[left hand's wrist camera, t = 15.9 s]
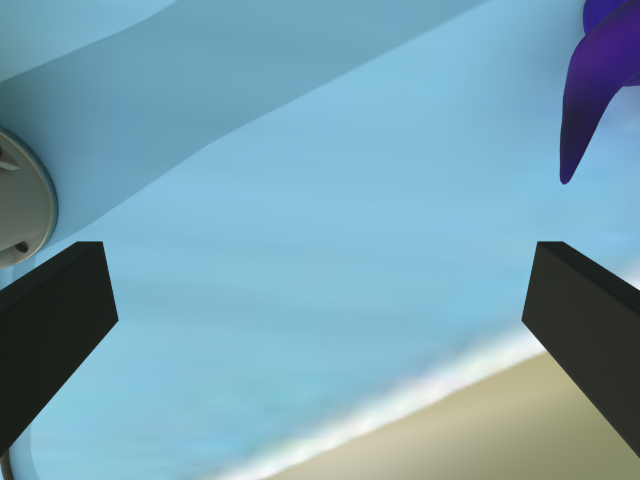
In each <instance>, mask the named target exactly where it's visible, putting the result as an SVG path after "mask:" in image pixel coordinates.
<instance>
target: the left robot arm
mask: <svg viewBox="0 0 640 480" xmlns="http://www.w3.org/2000/svg"><path fill="white" fill-rule="evenodd" d="M57 211H58V208H57V199H56V194H55V190H54V187H53V184H52V182H51V179H50V177H49V175H48V173H47V171H46V170H45V168H44V166H43V165H42V163H41V162H40V160H39V159H38V158H37V157H36V155H35V154H34V153H33V152H32V151H31V150H30V149H29V148H28V147H27V146H26V145H25V144H24V143H23V142H22V141H21V140H20V139H18V138H17V137H16V136H14V135H13V134H12V133H10V132H8V131H7V130H5V129H4V128H2V127H0V269H3V268H7V267H9V266H12V265H15V264H18V263H20V262H22V261H24V260H26V259H28V258H29V257H31V256H33V255H34V254H36V253H37V252H38V251H40V250H41V249H42V248H43V247H44V246H45V245H46V244H47V242H48V241H49V239H50V238H51V236H52V234H53V232H54V229H55V226H56V222H57ZM118 321H119V320H118V315H117V310H116V305H115V300H114V295H113V291H112V286H111V281H110V276H109V271H108V266H107V261H106V256H105V252H104V247H103V242H102V241H77V242H75V243H74V244H72V245H71V246H69V247H68V248H66V249H65V250H63V251H61V252H60V253H58V254H57V255H55V256H54V257H52V258H50V259H49V260H47V261H46V262H44V263H43V264H41V265H40V266H38V267H36V268H35V269H33V270H32V271H30V272H29V273H27V274H25V275H24V276H22V277H21V278H19V279H18V280H16V281H15V282H13V283H11V284H10V285H8V286H7V287H5V288H4V289H2V290H0V465H1V470H2V475H3V479H4V480H14V479H13V475H12V471H11V467H10V461H9V447H10V446H11V445H12V444H13V443H14V442H15V440H16V439H17V438H18V437H19V436H20V435H21V433H22V432H23V431H24V430H25V429H26V428H27V426H28V425H29V424H30V423H31V422H32V421H33V420H34V418H35V417H36V416H37V415H38V414H39V413H40V411H41V410H42V409H43V408H44V407H45V406H46V404H47V403H48V402H49V401H50V400H51V399H52V397H53V396H54V395H55V394H56V393H57V392H58V390H59V389H60V388H61V387H62V386H63V385H64V383H65V382H66V381H67V380H68V379H69V378H70V376H71V375H72V374H73V373H74V372H75V371H76V369H77V368H78V367H79V366H80V365H81V364H82V362H83V361H84V360H85V359H86V358H87V357H88V356H89V354H90V353H91V352H92V351H93V350H94V349H95V347H96V346H97V345H98V344H99V343H100V342H101V340H102V339H103V338H104V337H105V336H106V335H107V333H108V332H109V331H110V330H111V329H112V328H113V326H114V325H115V324H116V323H117V322H118ZM521 321H522V322H523V323H524V324H525V325H526V326H527V328H528V329H529V330H530V331H531V332H532V333H533V335H534V336H535V337H536V338H537V339H538V340H539V342H540V343H541V344H542V345H543V346H544V347H545V349H546V350H547V351H548V352H549V353H550V354H551V356H552V357H553V358H554V359H555V360H556V361H557V362H558V364H559V365H560V366H561V367H562V368H563V369H564V371H565V372H566V373H567V374H568V375H569V376H570V378H571V379H572V380H573V381H574V382H575V383H576V385H577V386H578V387H579V388H580V389H581V390H582V392H583V393H584V394H585V395H586V396H587V397H588V399H589V400H590V401H591V402H592V403H593V404H594V405H595V407H596V408H597V409H598V410H599V411H600V412H601V414H602V415H603V416H604V417H605V418H606V420H607V421H608V422H609V423H610V424H611V425H612V426H613V428H614V429H615V430H616V431H617V432H618V433H619V435H620V436H621V437H622V438H623V439H624V440H625V442H626V443H627V444H628V445H629V446H630V447H631V449H632V450H633V451H634V452H635V453H636V454H637V456H638V457H639V458H640V290H638V289H636V288H635V287H633V286H632V285H630V284H629V283H627V282H625V281H624V280H622V279H621V278H619V277H618V276H616V275H615V274H613V273H611V272H610V271H608V270H607V269H605V268H604V267H602V266H600V265H599V264H597V263H596V262H594V261H593V260H591V259H590V258H588V257H586V256H585V255H583V254H582V253H580V252H579V251H577V250H575V249H574V248H572V247H571V246H569V245H568V244H566V243H565V242H563V241H538V242H537V247H536V252H535V256H534V261H533V266H532V271H531V276H530V281H529V286H528V291H527V295H526V300H525V305H524V310H523V315H522V320H521Z"/></svg>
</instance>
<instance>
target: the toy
mask: <svg viewBox="0 0 640 480" xmlns="http://www.w3.org/2000/svg"><path fill="white" fill-rule="evenodd" d="M583 25H584V31H585V35H586V36H585V37H584V38H583V39H582V40H581V41H580V43H579V44H578V45H577V47H576V49H575V51H574V53H573V55H572V57H571V60H570V64H569V68H568V73H567V79H566V84H565V89H564V95H563V115H562V125H561V134H560V181H561V182H562V184H567V183H568V182H569V181H570V179H571V178H572V176H573V174H574V172H575V170H576V168H577V166H578V164H579V162H580V160H581V159H582V157H583V155H584V153H585V151H586V148H587V146H588V144H589V142H590V140H591V138H592V136H593V134H594V132H595V130H596V127H597V125H598V123H599V121H600V119H601V117H602V115H603V113H604V111H605V109H606V108H607V106H608V104H609V102H610V101H611V99H612V98H613V96H614V95H615V94H616V93H617V92H618V91H619V90H620V89H621V88H622V87H623V86H639V85H640V0H586V2H585V5H584V11H583Z"/></svg>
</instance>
